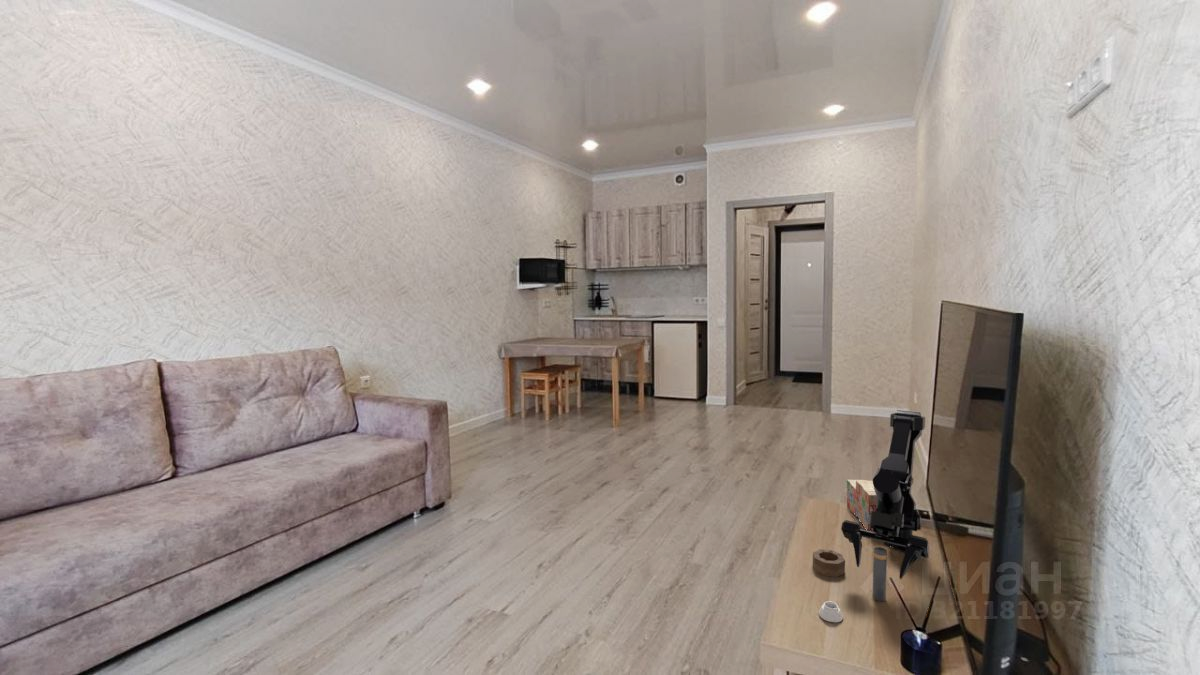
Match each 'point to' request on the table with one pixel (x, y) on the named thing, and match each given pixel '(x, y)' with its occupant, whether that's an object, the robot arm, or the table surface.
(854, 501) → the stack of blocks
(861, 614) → the table surface
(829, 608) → the white jar
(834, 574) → the bead
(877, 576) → the grey knob-topped cylinder
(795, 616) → the table surface
